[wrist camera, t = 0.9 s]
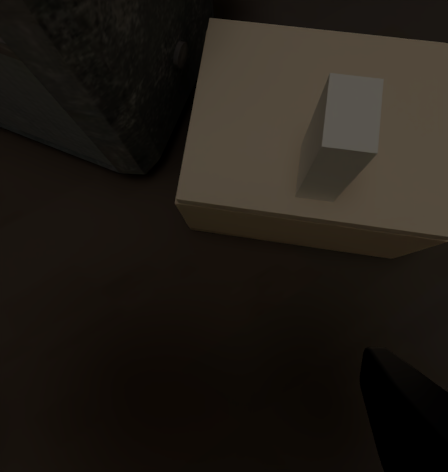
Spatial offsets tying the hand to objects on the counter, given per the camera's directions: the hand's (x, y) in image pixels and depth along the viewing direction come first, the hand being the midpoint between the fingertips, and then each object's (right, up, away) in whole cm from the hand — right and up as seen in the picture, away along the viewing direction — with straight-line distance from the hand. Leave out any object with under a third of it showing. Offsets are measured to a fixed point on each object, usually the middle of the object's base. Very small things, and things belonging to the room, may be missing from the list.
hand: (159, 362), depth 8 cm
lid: (+6, +8, +9) cm, 13 cm away
